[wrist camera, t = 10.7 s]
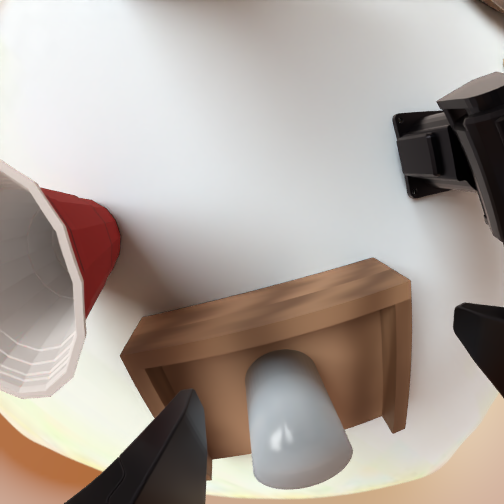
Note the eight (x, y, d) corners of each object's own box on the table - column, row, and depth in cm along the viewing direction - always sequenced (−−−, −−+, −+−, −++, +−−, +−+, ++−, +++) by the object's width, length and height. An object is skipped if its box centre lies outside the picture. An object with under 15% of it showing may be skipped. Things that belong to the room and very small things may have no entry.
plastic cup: (188, 226, 20) (133, 288, 9) (109, 330, 22) (39, 433, 10) (79, 134, 18) (-39, 110, 6) (18, 245, 20) (-85, 293, 8)
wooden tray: (373, 257, 22) (410, 280, 16) (381, 392, 25) (404, 428, 20) (142, 317, 22) (119, 355, 16) (201, 438, 25) (198, 481, 20)
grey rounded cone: (311, 340, 19) (350, 421, 12) (321, 394, 21) (353, 472, 13) (236, 360, 19) (241, 450, 12) (255, 411, 21) (265, 496, 13)
